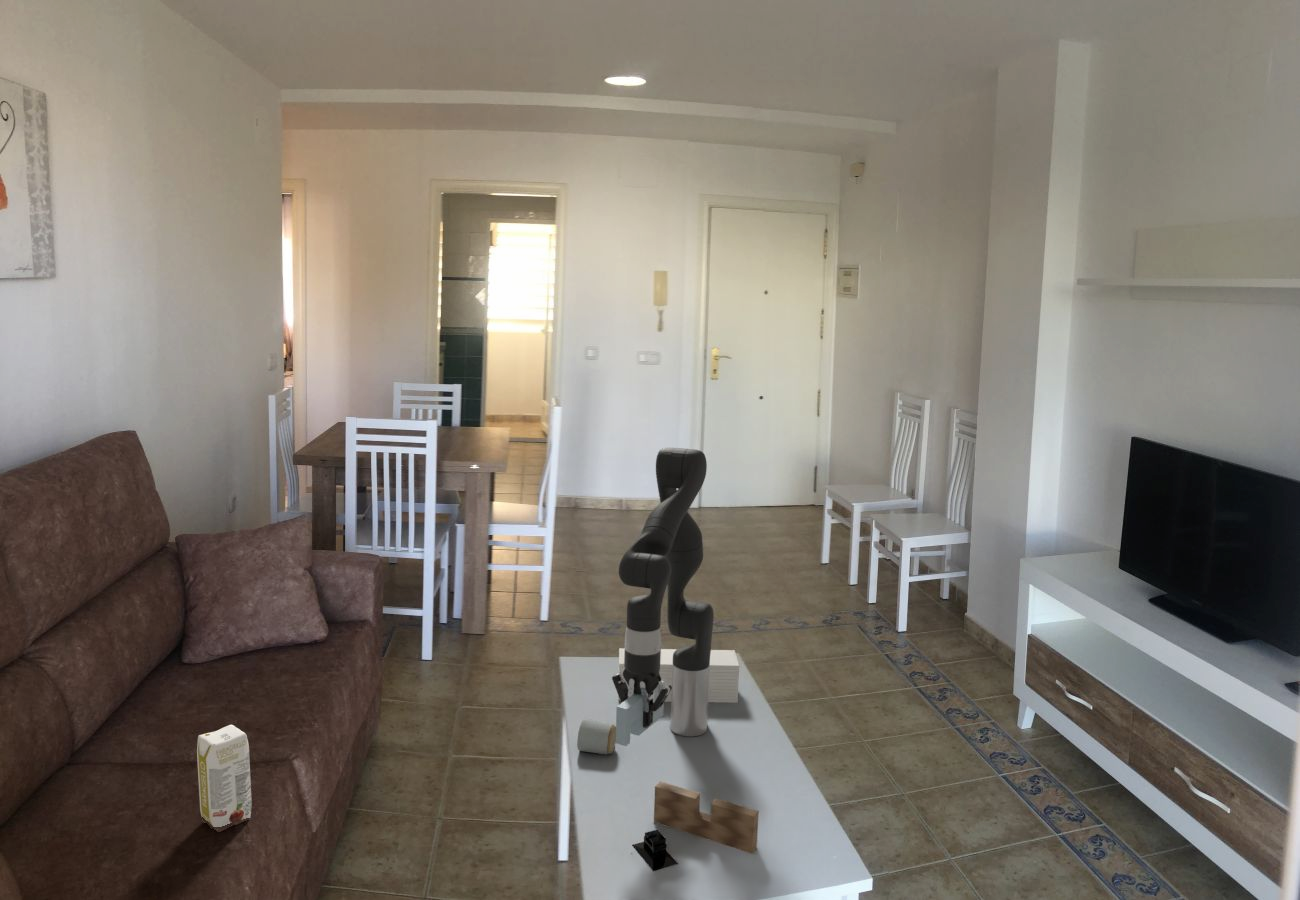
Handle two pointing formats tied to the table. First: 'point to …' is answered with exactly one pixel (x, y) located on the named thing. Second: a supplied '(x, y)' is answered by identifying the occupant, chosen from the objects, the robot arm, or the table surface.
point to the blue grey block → (633, 717)
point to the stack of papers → (720, 674)
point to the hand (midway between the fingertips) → (640, 724)
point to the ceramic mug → (596, 736)
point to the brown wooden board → (706, 817)
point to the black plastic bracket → (655, 851)
